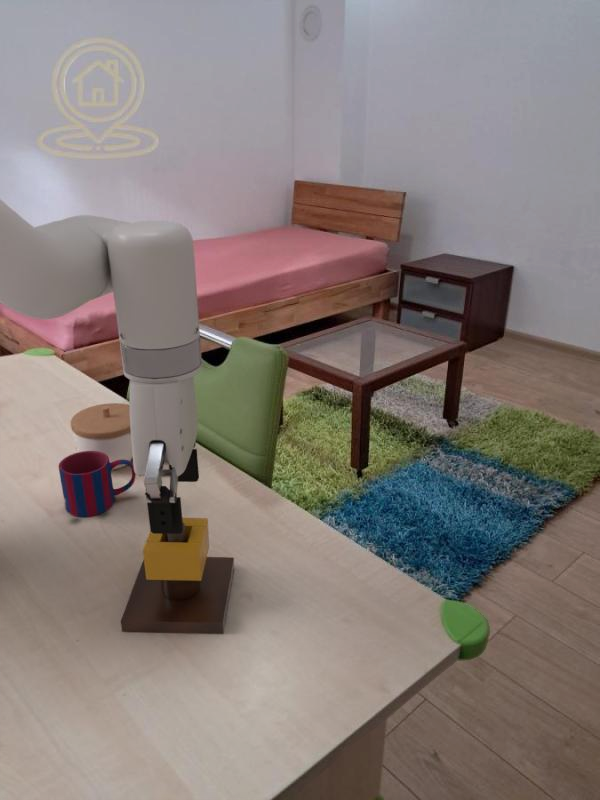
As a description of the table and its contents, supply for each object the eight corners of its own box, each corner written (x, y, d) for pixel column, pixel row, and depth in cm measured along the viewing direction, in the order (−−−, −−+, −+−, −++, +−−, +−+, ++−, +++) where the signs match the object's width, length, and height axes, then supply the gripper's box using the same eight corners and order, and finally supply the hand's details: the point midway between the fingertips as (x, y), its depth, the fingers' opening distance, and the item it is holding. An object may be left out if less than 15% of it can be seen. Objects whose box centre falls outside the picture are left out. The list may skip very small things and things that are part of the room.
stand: (121, 631, 68) (111, 557, 64) (145, 565, 78) (138, 497, 74) (223, 633, 68) (219, 559, 64) (234, 567, 78) (231, 498, 74)
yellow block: (146, 580, 69) (142, 550, 67) (158, 545, 74) (155, 517, 72) (201, 581, 68) (199, 551, 67) (209, 546, 74) (207, 518, 72)
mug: (69, 493, 93) (62, 452, 90) (139, 487, 95) (134, 447, 92) (61, 519, 87) (54, 476, 84) (136, 512, 89) (131, 470, 86)
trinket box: (159, 460, 102) (154, 407, 98) (99, 485, 95) (91, 430, 91) (123, 438, 109) (117, 388, 105) (64, 460, 101) (55, 407, 98)
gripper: (144, 327, 69) (159, 463, 76) (95, 391, 53) (119, 555, 60) (213, 327, 69) (221, 464, 76) (184, 391, 53) (198, 556, 60)
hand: (176, 504), depth 68 cm, fingers open, 9 cm apart
